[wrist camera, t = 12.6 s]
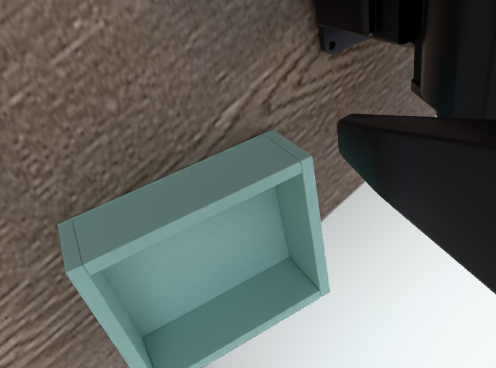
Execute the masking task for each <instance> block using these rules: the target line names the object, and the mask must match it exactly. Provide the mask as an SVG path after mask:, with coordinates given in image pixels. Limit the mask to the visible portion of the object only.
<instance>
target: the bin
mask: <svg viewBox="0 0 496 368" xmlns="http://www.w3.org/2000/svg"><path fill="white" fill-rule="evenodd" d="M57 226H58V231H59V237H60V243H61V249H62V255H63V261H64V267H65V273H66V275H67V276H68V278H69V279H70V281H71V282H72V284H73V285H74V286H75V288H76V289H77V291H78V292H79V294H80V295H81V297H82V298H83V300H84V301H85V303H86V304H87V305H88V307H89V308H90V310H91V311H92V313H93V314H94V316H95V317H96V319H97V320H98V322H99V323H100V325H101V326H102V327H103V329H104V330H105V332H106V333H107V335H108V336H109V338H110V339H111V341H112V342H113V344H114V345H115V347H116V348H117V349H118V351H119V352H120V354H121V355H122V357H123V358H124V360H125V361H126V363H127V364H128V366H129V367H130V368H203V367H205V366H206V365H208V364H210V363H211V362H213V361H215V360H216V359H218V358H220V357H221V356H223V355H225V354H226V353H228V352H230V351H232V350H233V349H235V348H237V347H238V346H240V345H242V344H243V343H245V342H247V341H248V340H250V339H252V338H253V337H255V336H257V335H258V334H260V333H262V332H263V331H265V330H267V329H268V328H270V327H272V326H274V325H275V324H277V323H279V322H280V321H282V320H284V319H285V318H287V317H289V316H290V315H292V314H294V313H295V312H297V311H299V310H300V309H302V308H304V307H305V306H307V305H309V304H311V303H312V302H314V301H316V300H317V299H319V298H320V297H322V296H324V295H325V294H327V293H329V292H330V289H329V282H328V275H327V266H326V259H325V251H324V244H323V236H322V228H321V221H320V213H319V205H318V198H317V190H316V182H315V175H314V167H313V159H312V156H311V155H310V154H309V153H307V152H306V151H304V150H303V149H301V148H300V147H298V146H297V145H295V144H294V143H292V142H291V141H289V140H288V139H287V138H285V137H284V136H282V135H281V134H279V133H278V132H276V131H275V130H274V129H272V130H270V131H268V132H265V133H263V134H261V135H258V136H256V137H254V138H252V139H249V140H247V141H245V142H243V143H240V144H238V145H236V146H233V147H231V148H229V149H227V150H224V151H222V152H220V153H218V154H215V155H213V156H211V157H209V158H206V159H204V160H202V161H199V162H197V163H195V164H193V165H190V166H188V167H186V168H184V169H181V170H179V171H177V172H175V173H172V174H170V175H168V176H165V177H163V178H161V179H159V180H156V181H154V182H152V183H150V184H147V185H145V186H143V187H141V188H138V189H136V190H134V191H131V192H129V193H127V194H125V195H122V196H120V197H118V198H116V199H113V200H111V201H109V202H107V203H104V204H102V205H100V206H97V207H95V208H93V209H91V210H88V211H86V212H84V213H82V214H79V215H77V216H75V217H72V218H70V219H68V220H66V221H63V222H61V223H59V224H57Z"/></svg>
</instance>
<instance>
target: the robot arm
mask: <svg viewBox="0 0 496 368" xmlns="http://www.w3.org/2000/svg"><path fill="white" fill-rule="evenodd" d="M315 4H316V14H317V23H318V24H319V33H320V44H321V49H322V51H323V52H325V53H328V54H333V53H335V52H338V51H340V50H343V49H345V48H348V47H350V46H353V45H355V44H357V43H360V42H362V41H365V40H367V39H370V38H371V39H375V40H379V41H383V42H387V43H391V44H395V45H399V46H404V47H408V48H412V49H415V52H414V78H413V79H412V80H411V91H413V92H414V93H415V94H416V95H417V96H419V97H420V98H421V99H422V100H424V101H425V102H426V103H427V104H428V105H430V106H431V107H432V108H433V109H434V110H436V115H437V117H419V116H395V115H370V114H350V115H348V116H346V117H344V118H341V119H340V120H339V121H338V122H337V134H338V146H339V151H340V153H341V155H342V157H343V158H344V159H345V160H346V161H347V162H348V163H349V164H350V165H351V166H352V167H353V168H354V170H355V171H356V172H357V173H358V174H359V175H360V176H361V177H362V178H363V179H364V180H365V181H366V182H367V183H368V184H369V185H370V186H371V187H372V188H373V190H374V191H375V192H377V194H379V195H380V196H381V197H382V198H383V199H384V200H385V201H386V202H388V203H389V204H390V205H391V206H392V207H393V208H395V209H396V210H397V211H398V212H399V213H400V214H402V215H403V216H404V217H405V218H406V219H408V220H409V221H410V222H411V223H412V224H413V225H415V226H416V227H417V228H418V229H419V230H421V231H422V232H423V233H424V234H425V235H426V236H428V237H429V238H430V239H431V240H432V241H434V242H435V243H436V244H437V245H438V246H439V247H441V248H442V249H443V250H444V251H445V252H447V253H448V254H449V255H450V256H451V257H452V258H454V259H455V260H456V261H457V262H458V263H459V264H461V265H462V266H463V267H464V268H465V269H467V270H468V271H469V272H470V273H471V274H472V275H474V276H475V277H476V278H477V279H478V280H479V281H481V282H482V283H483V284H484V285H485V286H487V287H488V288H489V289H490V290H491V291H492V292H494V293H495V294H496V0H315ZM329 42H331V46H330V47H329V48H328V44H329Z"/></svg>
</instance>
